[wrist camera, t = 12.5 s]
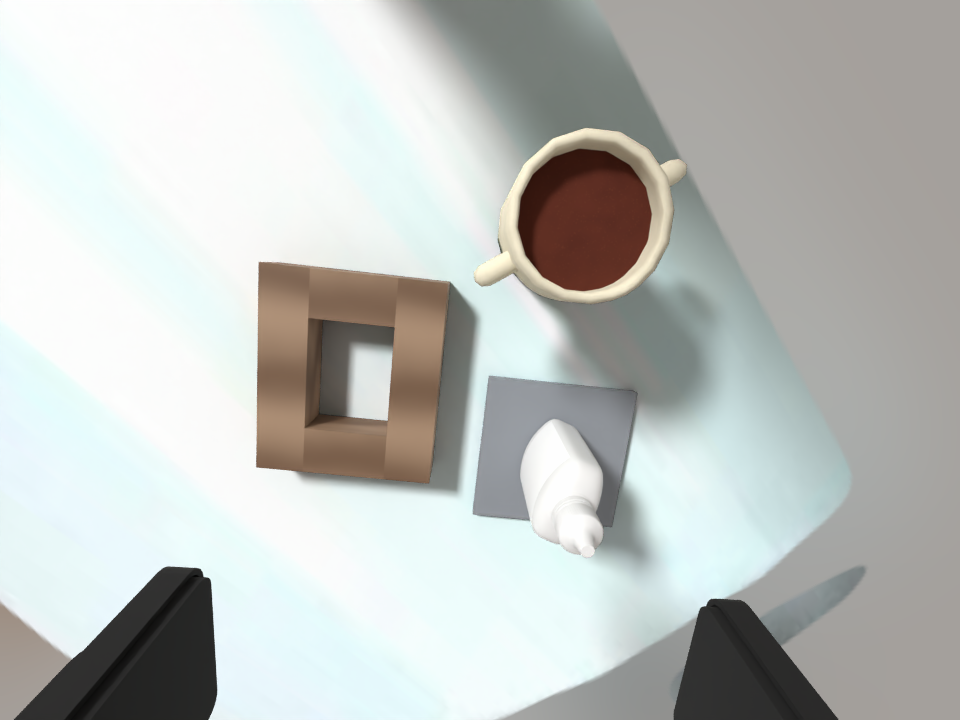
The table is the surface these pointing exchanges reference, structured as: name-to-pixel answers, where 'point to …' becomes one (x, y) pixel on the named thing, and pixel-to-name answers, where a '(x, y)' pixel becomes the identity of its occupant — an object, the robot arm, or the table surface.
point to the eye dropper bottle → (563, 488)
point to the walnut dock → (297, 371)
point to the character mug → (585, 218)
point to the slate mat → (522, 413)
